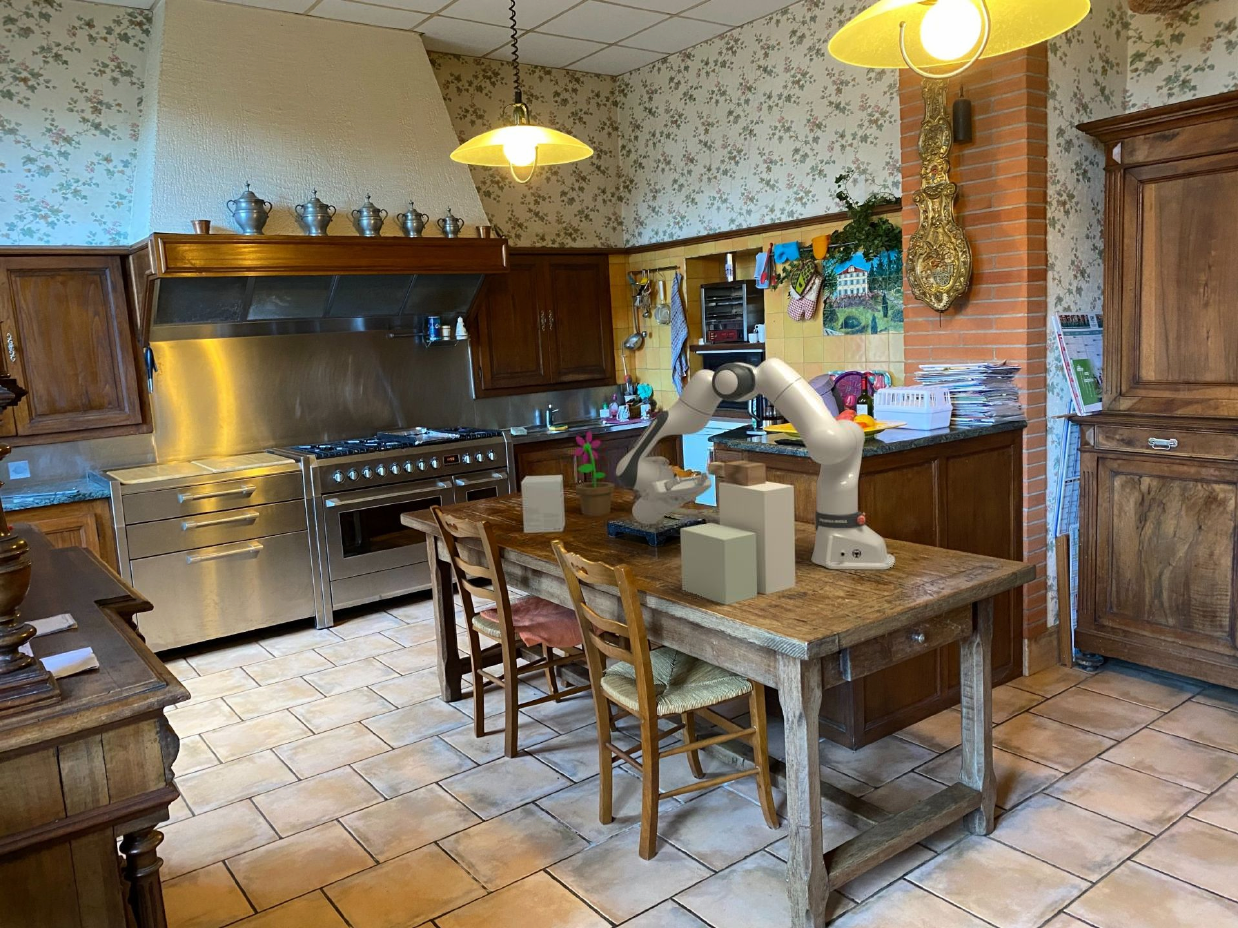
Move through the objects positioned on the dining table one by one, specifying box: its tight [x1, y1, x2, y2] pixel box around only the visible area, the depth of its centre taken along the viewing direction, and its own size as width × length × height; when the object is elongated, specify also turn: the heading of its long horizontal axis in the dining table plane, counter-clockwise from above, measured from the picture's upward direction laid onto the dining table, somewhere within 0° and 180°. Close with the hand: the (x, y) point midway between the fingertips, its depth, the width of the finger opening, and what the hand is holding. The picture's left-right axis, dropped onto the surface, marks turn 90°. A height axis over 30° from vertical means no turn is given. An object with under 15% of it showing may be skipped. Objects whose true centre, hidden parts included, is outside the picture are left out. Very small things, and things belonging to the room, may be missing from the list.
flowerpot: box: [572, 430, 615, 517], centre depth 334 cm, size 14×14×30 cm
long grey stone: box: [670, 506, 720, 525], centre depth 317 cm, size 35×5×10 cm
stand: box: [680, 480, 796, 606], centre depth 231 cm, size 17×23×26 cm
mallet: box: [707, 460, 767, 486], centre depth 239 cm, size 18×6×5 cm, turn 34°
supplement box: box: [520, 474, 566, 534], centre depth 312 cm, size 13×13×18 cm
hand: (693, 476), depth 255 cm, fingers open, 8 cm apart
